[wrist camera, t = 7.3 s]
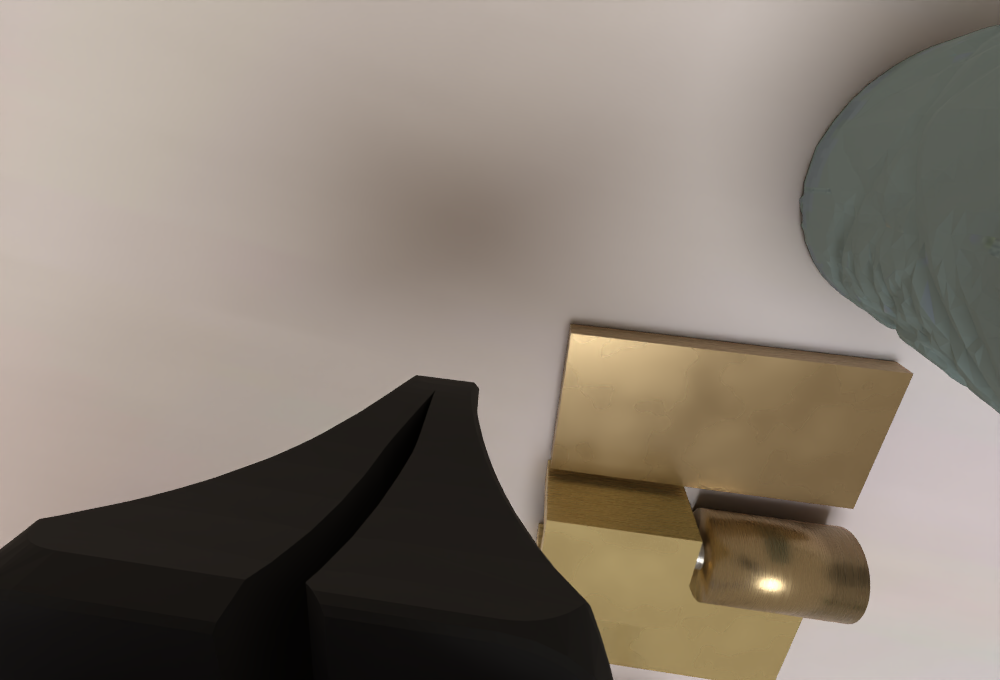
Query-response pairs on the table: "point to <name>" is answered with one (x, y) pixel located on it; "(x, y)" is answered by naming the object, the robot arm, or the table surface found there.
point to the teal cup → (919, 206)
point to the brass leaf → (652, 580)
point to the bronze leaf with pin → (737, 452)
